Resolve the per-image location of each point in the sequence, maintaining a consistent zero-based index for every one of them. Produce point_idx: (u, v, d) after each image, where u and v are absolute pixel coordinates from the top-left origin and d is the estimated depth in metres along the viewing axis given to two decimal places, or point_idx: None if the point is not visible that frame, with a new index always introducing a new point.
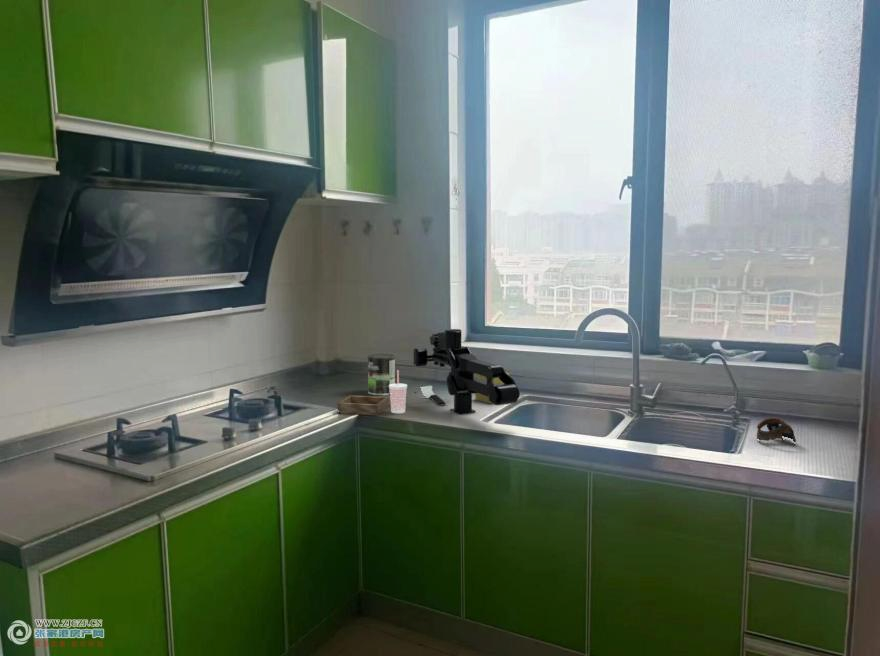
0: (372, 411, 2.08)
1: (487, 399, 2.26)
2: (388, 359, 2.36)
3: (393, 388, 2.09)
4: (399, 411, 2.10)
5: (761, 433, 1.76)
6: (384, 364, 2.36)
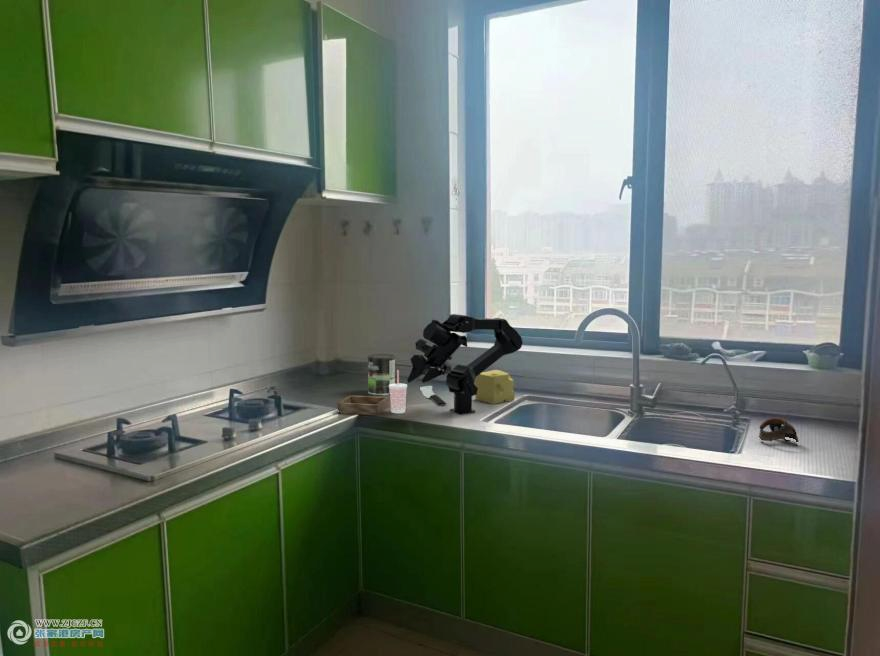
0: (372, 411, 2.08)
1: (487, 399, 2.26)
2: (388, 359, 2.36)
3: (393, 388, 2.09)
4: (399, 411, 2.10)
5: (764, 433, 1.76)
6: (384, 364, 2.36)
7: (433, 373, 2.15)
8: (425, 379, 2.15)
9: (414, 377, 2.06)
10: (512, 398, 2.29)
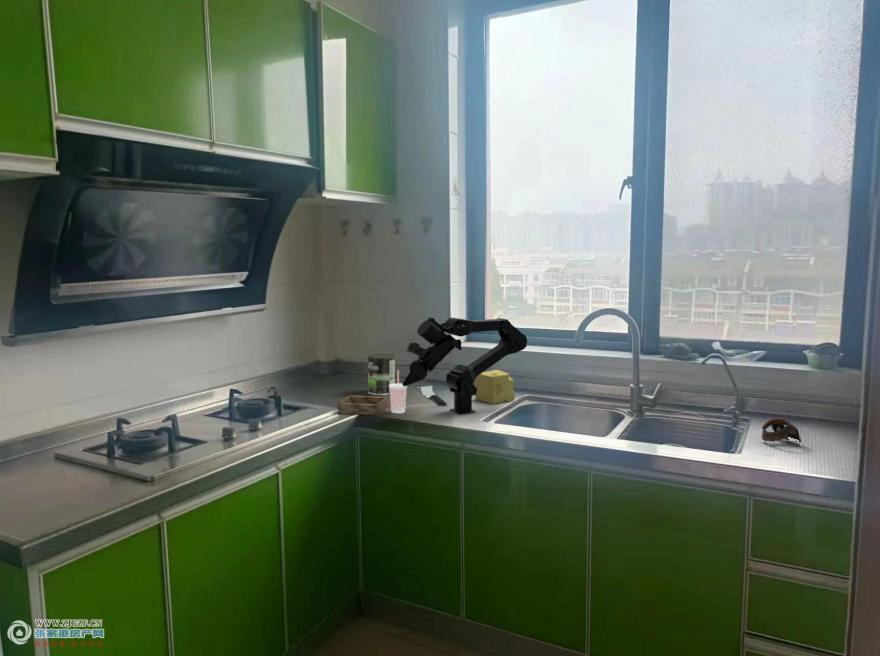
0: (372, 411, 2.08)
1: (487, 399, 2.26)
2: (388, 359, 2.36)
3: (393, 388, 2.09)
4: (399, 411, 2.10)
5: (766, 434, 1.75)
6: (384, 364, 2.36)
7: None
8: None
9: (411, 382, 2.04)
10: (512, 398, 2.29)
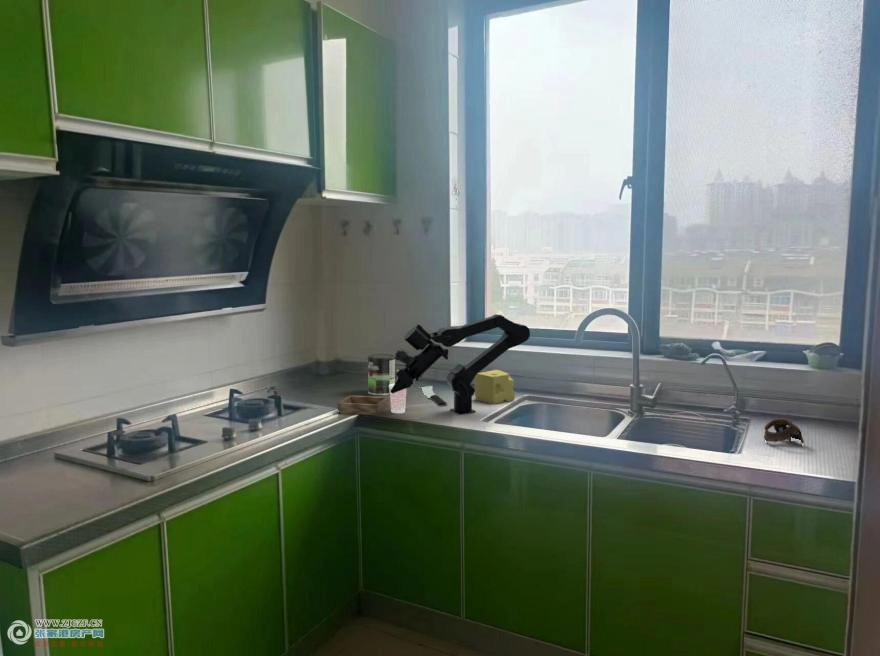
0: (372, 411, 2.08)
1: (487, 399, 2.26)
2: (388, 359, 2.36)
3: None
4: (399, 411, 2.10)
5: (769, 434, 1.75)
6: (384, 364, 2.36)
7: None
8: None
9: (399, 389, 2.07)
10: (512, 398, 2.29)
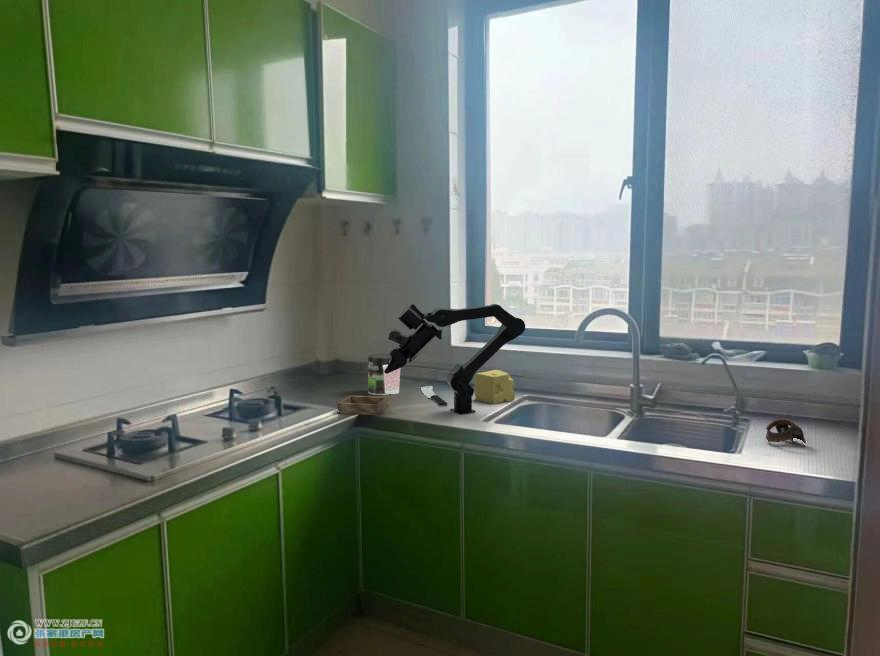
0: (372, 411, 2.08)
1: (487, 399, 2.26)
2: (388, 359, 2.36)
3: None
4: (393, 392, 2.09)
5: (771, 435, 1.75)
6: (384, 364, 2.36)
7: None
8: None
9: (393, 369, 2.06)
10: (512, 398, 2.29)
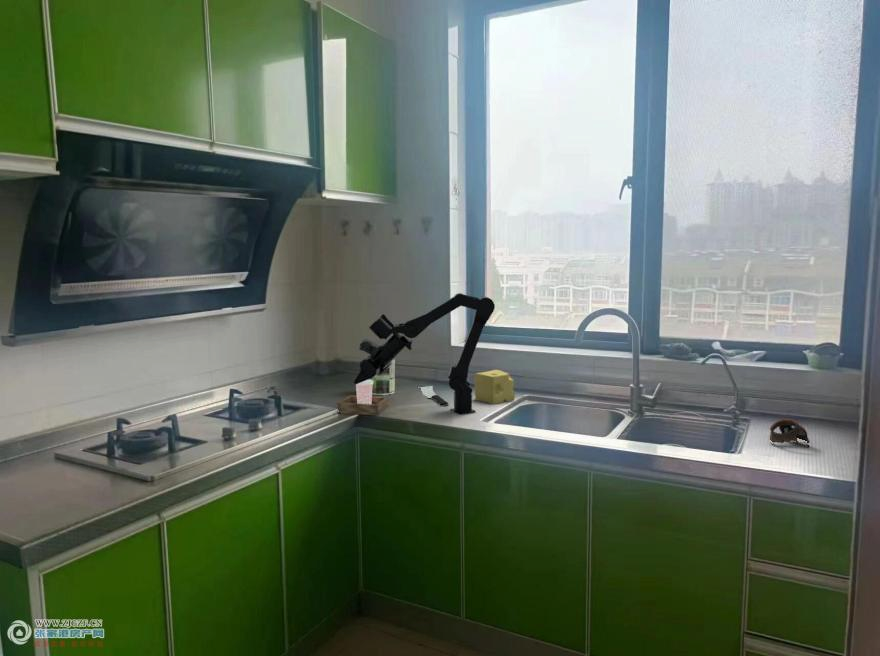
0: (372, 411, 2.08)
1: (487, 399, 2.26)
2: None
3: (359, 384, 2.11)
4: None
5: (775, 435, 1.74)
6: None
7: None
8: None
9: (362, 380, 2.08)
10: (512, 398, 2.29)
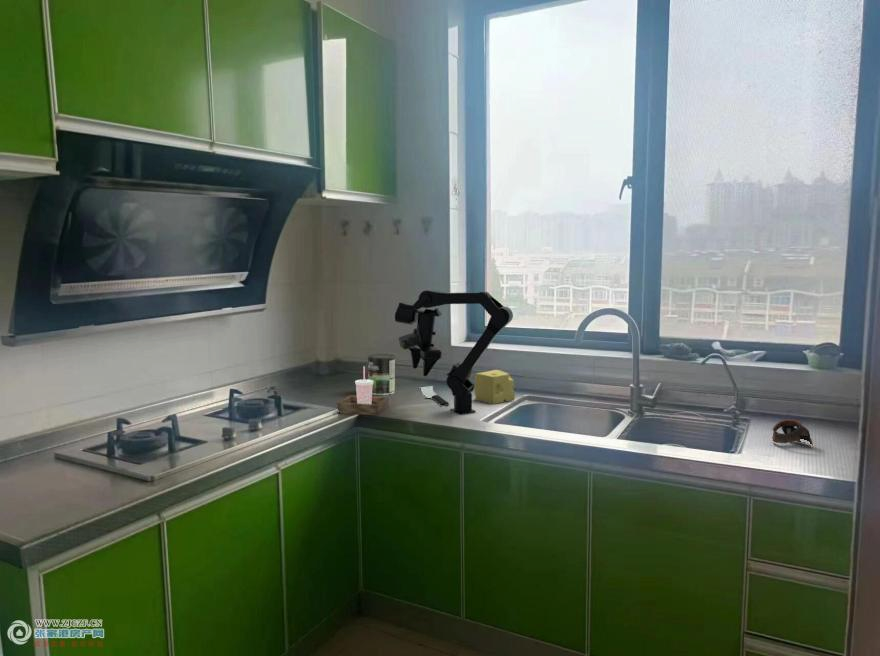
0: (372, 411, 2.08)
1: (487, 399, 2.26)
2: (388, 359, 2.36)
3: (359, 384, 2.11)
4: None
5: (778, 436, 1.74)
6: (384, 364, 2.36)
7: (417, 354, 2.20)
8: (415, 363, 2.20)
9: (430, 367, 2.11)
10: (512, 398, 2.29)
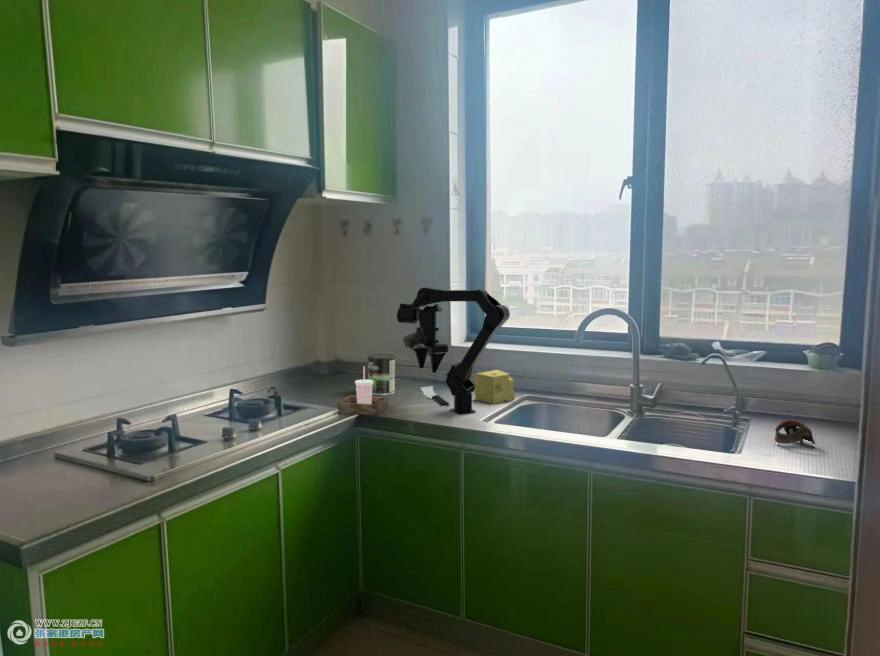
0: (372, 411, 2.08)
1: (487, 399, 2.26)
2: (388, 359, 2.36)
3: (359, 384, 2.11)
4: None
5: (780, 436, 1.73)
6: (384, 364, 2.36)
7: (422, 354, 2.20)
8: (422, 363, 2.20)
9: (438, 363, 2.11)
10: (512, 398, 2.29)
